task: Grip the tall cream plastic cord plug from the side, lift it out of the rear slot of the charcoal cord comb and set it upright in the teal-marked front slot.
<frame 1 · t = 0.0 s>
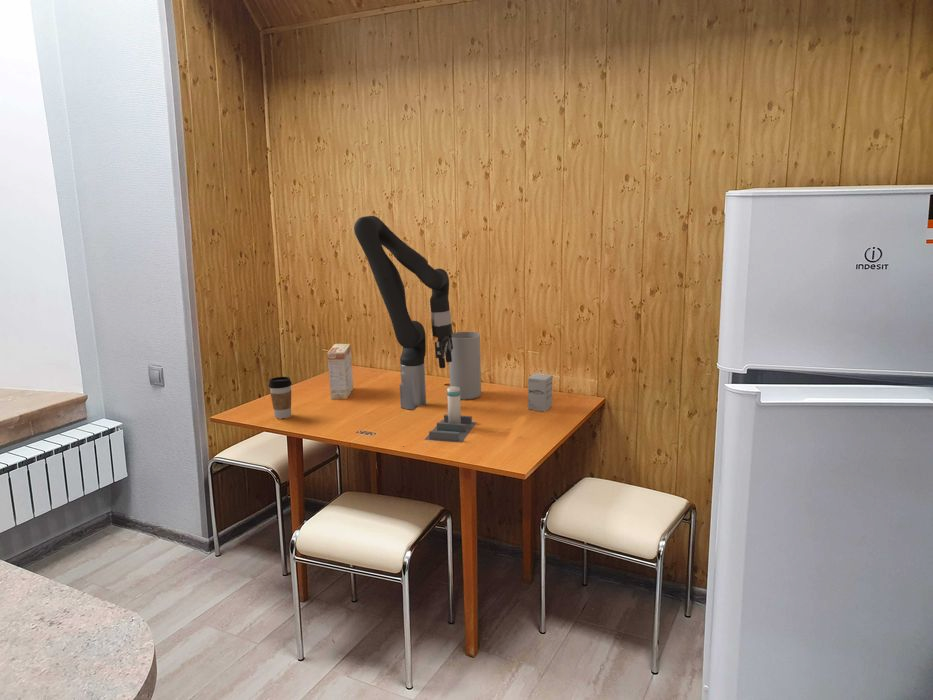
hand: (445, 364, 274), 17 cm above the table, tool pointing down, fingers open, 8 cm apart
cylinder vase: (465, 395, 293), on the table
coffee cup: (283, 417, 274), on the table
coffeecake box: (342, 394, 300), on the table
supplement box: (540, 408, 275), on the table
cord comb: (451, 434, 250), on the table
cord plug: (454, 426, 254), point 1 cm above the table, touching cord comb
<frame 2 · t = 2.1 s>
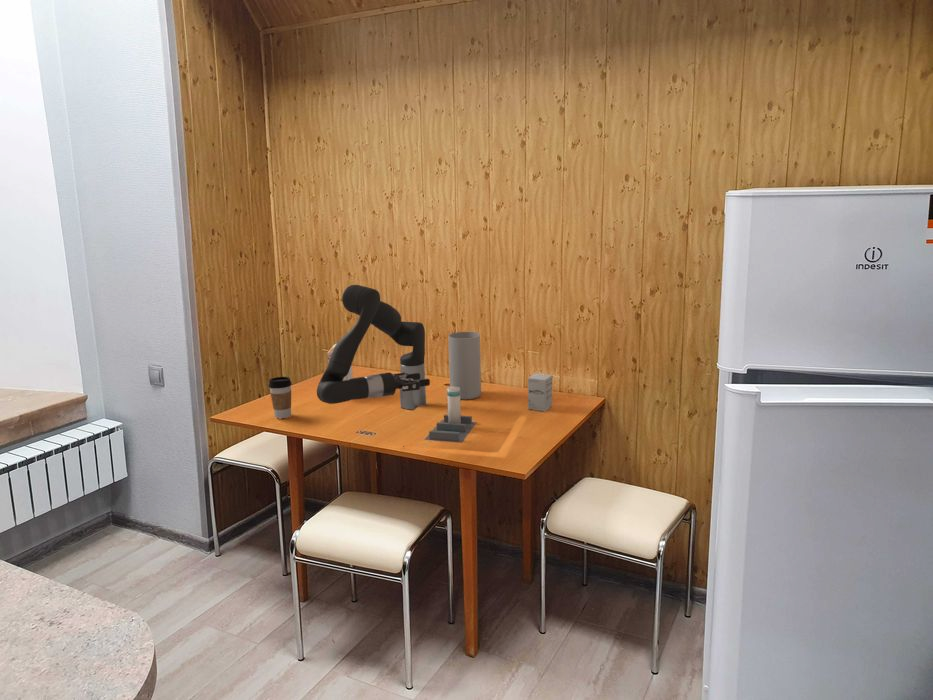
hand: (424, 378, 245), 20 cm above the table, tool horizontal, fingers open, 8 cm apart
nothing on the table moved.
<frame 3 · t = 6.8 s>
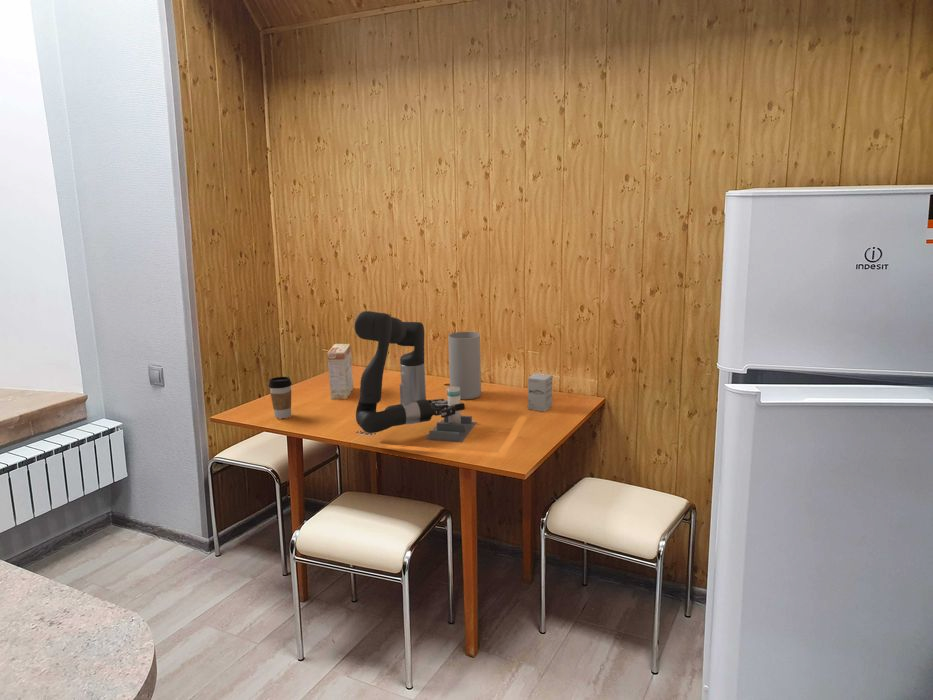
hand: (461, 404, 253), 9 cm above the table, tool horizontal, fingers closed on cord plug, 4 cm apart
cord plug: (454, 426, 254), point 2 cm above the table, touching cord comb, gripper
everything else where it was.
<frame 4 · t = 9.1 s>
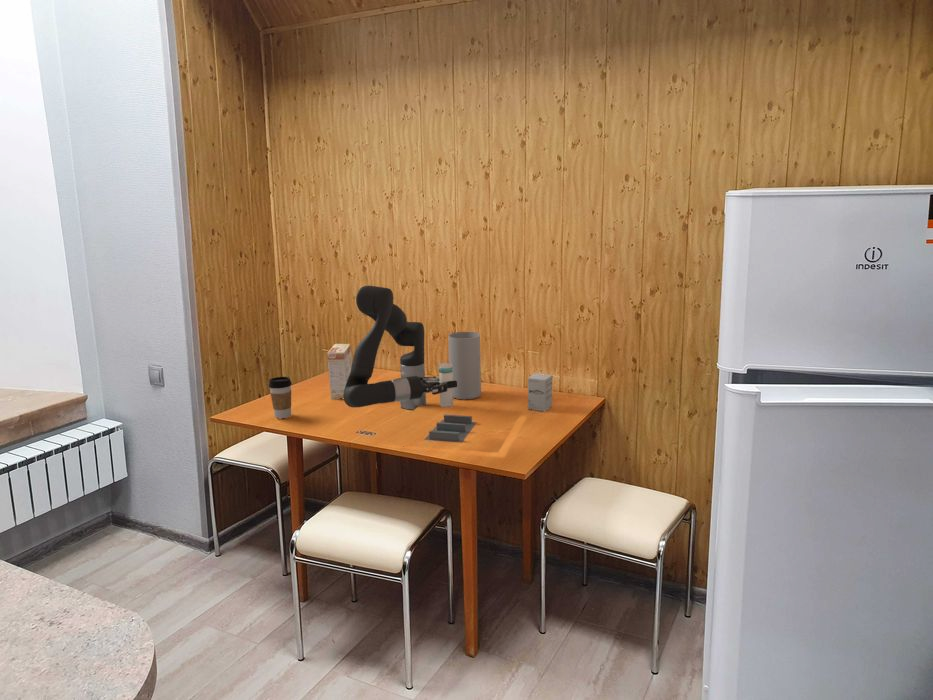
hand: (453, 381, 242), 20 cm above the table, tool horizontal, fingers closed on cord plug, 4 cm apart
cord plug: (446, 405, 243), point 12 cm above the table, touching gripper
everything else where it was.
when the fingers open (11 cm above the table, at t = 11.6 s): cord plug drops 1 cm, resting on cord comb.
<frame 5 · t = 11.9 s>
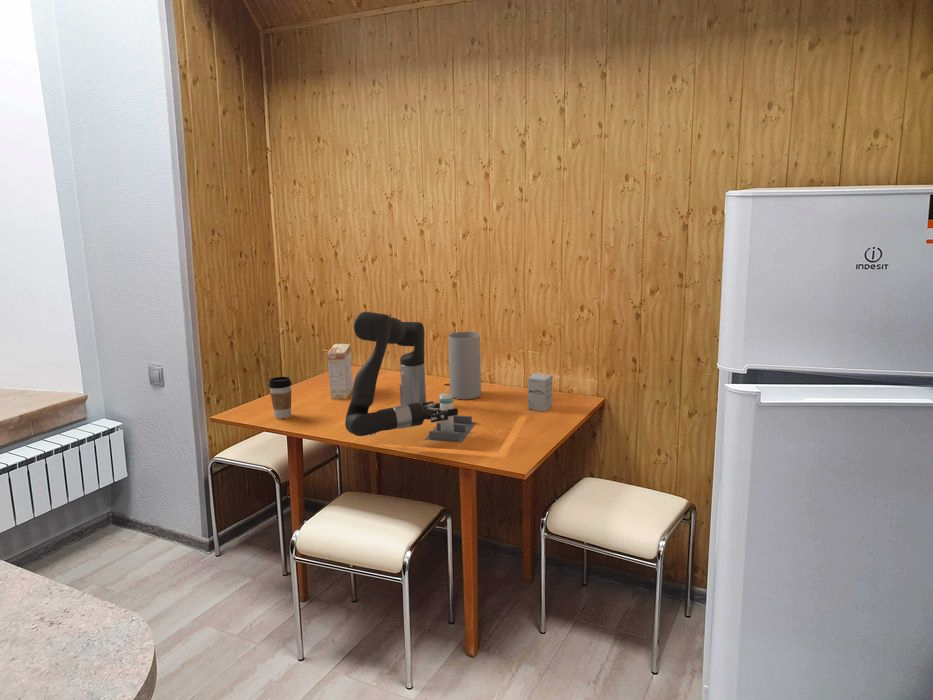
hand: (452, 408, 244), 11 cm above the table, tool horizontal, fingers open, 7 cm apart
cord plug: (447, 434, 246), point 2 cm above the table, touching cord comb
everything else where it was.
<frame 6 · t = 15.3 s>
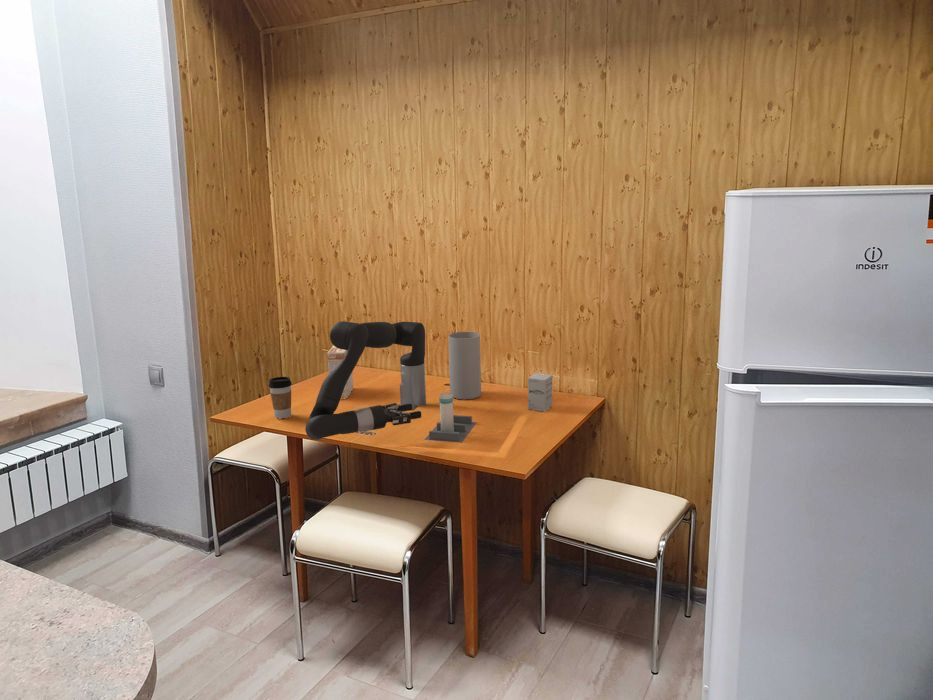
hand: (416, 410, 239), 12 cm above the table, tool horizontal, fingers open, 8 cm apart
nothing on the table moved.
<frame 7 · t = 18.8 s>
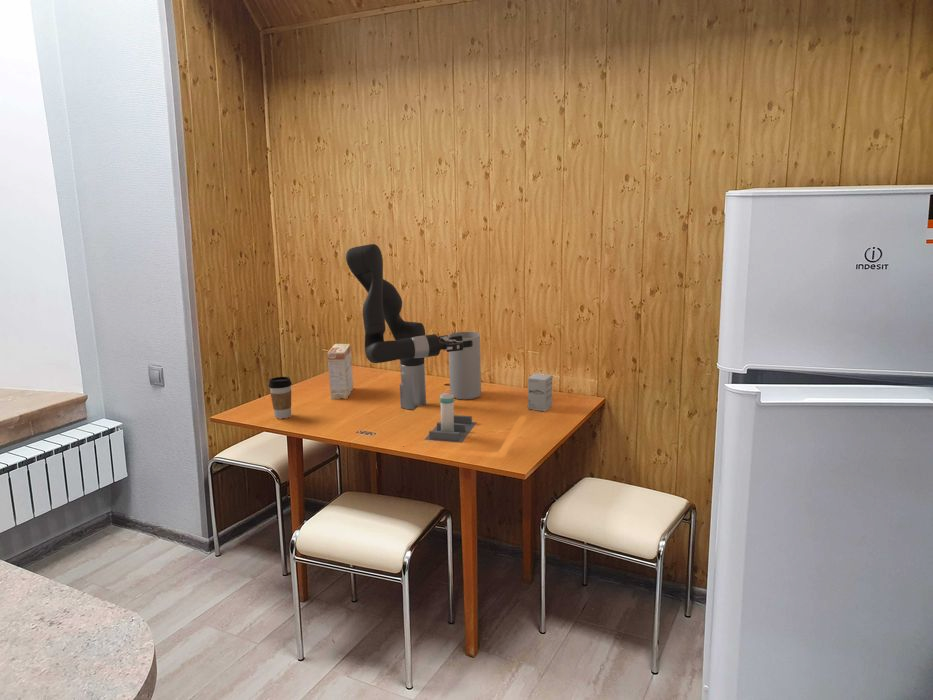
hand: (466, 340, 256), 30 cm above the table, tool horizontal, fingers open, 8 cm apart
nothing on the table moved.
at the end: cord plug 0.1 cm from the target spot on the cord comb, point 1.7 cm above the cord comb's base; cord plug tilted 1°; the gripper is holding nothing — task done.
